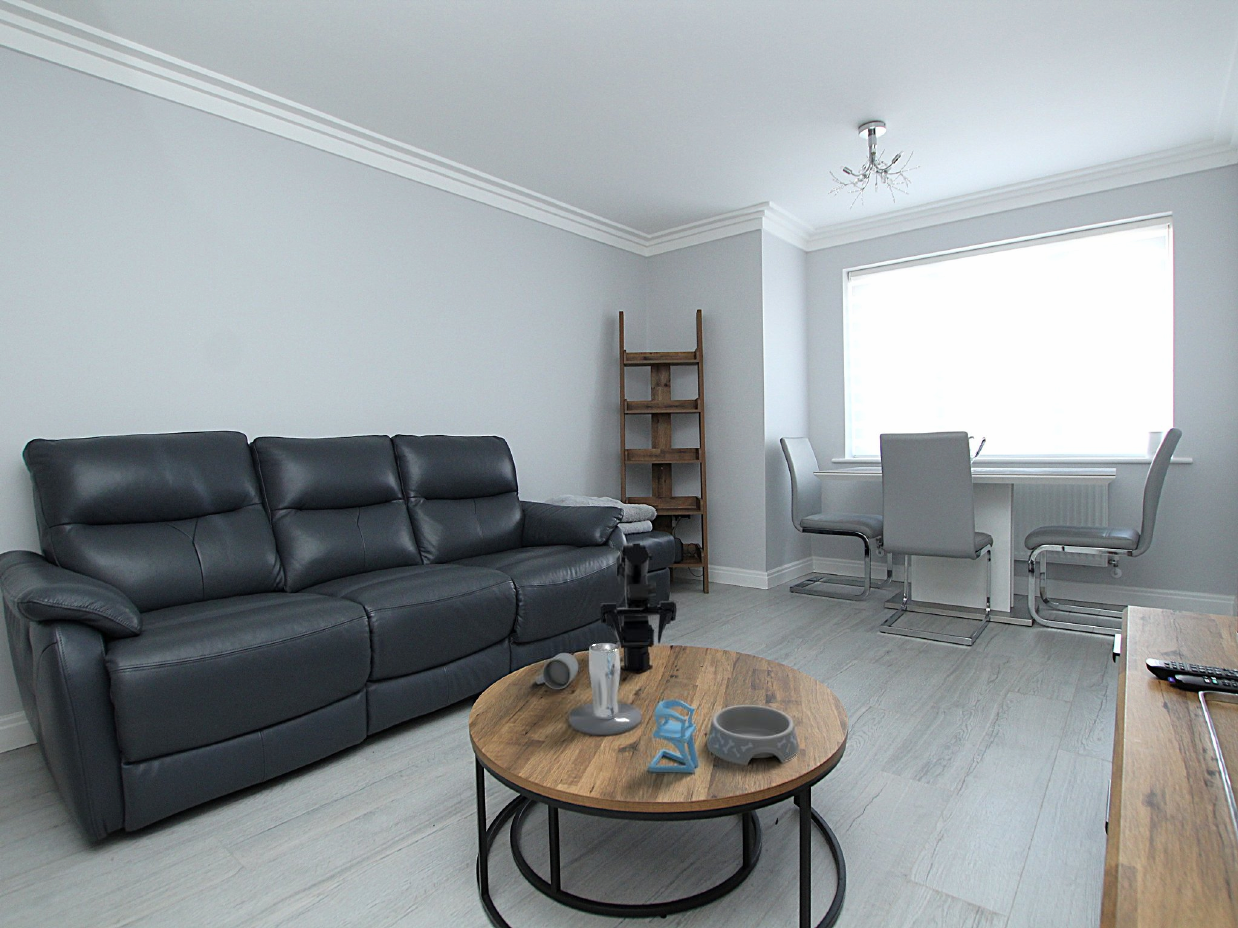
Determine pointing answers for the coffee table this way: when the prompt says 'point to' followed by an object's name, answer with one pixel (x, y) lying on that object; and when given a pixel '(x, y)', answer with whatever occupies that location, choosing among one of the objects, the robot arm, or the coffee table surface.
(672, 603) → the robot arm
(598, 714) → the chrome tumbler cup
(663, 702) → the chair
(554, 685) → the ceramic mug
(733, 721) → the dog bowl
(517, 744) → the coffee table surface
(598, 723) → the coaster board
